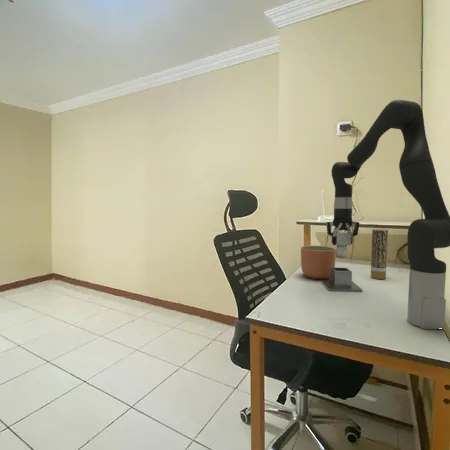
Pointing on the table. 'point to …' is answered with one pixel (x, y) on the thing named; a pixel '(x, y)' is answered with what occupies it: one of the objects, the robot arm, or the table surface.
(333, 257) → the planter
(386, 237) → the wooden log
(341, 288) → the duct socket
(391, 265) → the table surface
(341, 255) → the silver block with cylinder
